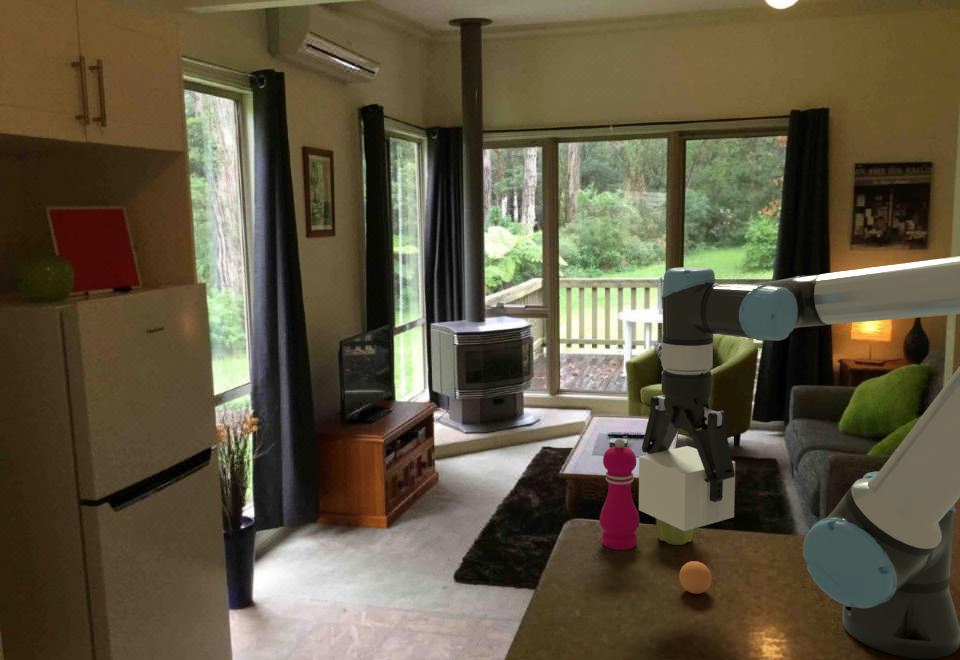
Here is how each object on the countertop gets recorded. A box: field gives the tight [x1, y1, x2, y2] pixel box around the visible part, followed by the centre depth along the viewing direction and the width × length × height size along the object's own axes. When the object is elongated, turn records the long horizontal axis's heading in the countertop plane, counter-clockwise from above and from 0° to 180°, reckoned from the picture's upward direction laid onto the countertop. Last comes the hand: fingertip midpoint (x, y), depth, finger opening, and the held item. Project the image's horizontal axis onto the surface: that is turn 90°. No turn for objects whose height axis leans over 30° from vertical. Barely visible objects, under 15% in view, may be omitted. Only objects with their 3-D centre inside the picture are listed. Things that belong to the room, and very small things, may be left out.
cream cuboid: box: [638, 445, 736, 531], centre depth 127 cm, size 10×10×9 cm
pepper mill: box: [599, 438, 640, 551], centre depth 149 cm, size 7×7×20 cm
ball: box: [678, 560, 712, 595], centre depth 131 cm, size 5×5×5 cm
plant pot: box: [655, 518, 694, 546], centre depth 151 cm, size 9×9×9 cm
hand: (684, 509), depth 127 cm, fingers closed on cream cuboid, 10 cm apart
